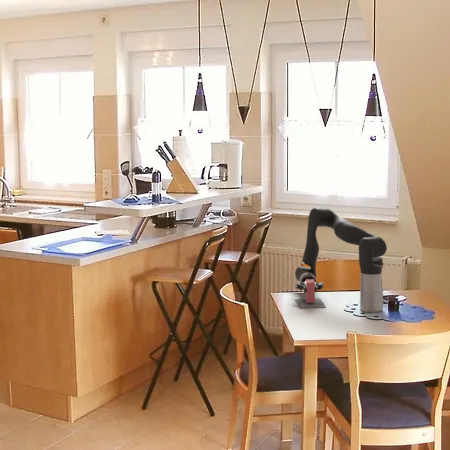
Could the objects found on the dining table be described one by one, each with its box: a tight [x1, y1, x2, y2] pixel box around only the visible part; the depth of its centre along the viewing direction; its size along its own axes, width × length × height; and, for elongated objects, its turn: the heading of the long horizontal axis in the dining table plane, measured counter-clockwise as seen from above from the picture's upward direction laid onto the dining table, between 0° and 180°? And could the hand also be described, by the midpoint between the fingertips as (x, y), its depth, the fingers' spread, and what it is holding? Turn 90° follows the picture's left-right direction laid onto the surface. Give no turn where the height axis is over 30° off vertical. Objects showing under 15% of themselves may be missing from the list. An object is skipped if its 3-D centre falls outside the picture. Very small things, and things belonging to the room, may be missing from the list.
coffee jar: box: [373, 256, 384, 290], centre depth 374 cm, size 10×8×19 cm
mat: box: [294, 298, 327, 309], centre depth 358 cm, size 16×12×1 cm
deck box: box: [305, 279, 316, 303], centre depth 357 cm, size 6×4×10 cm, turn 178°
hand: (310, 289), depth 354 cm, fingers closed on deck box, 3 cm apart
